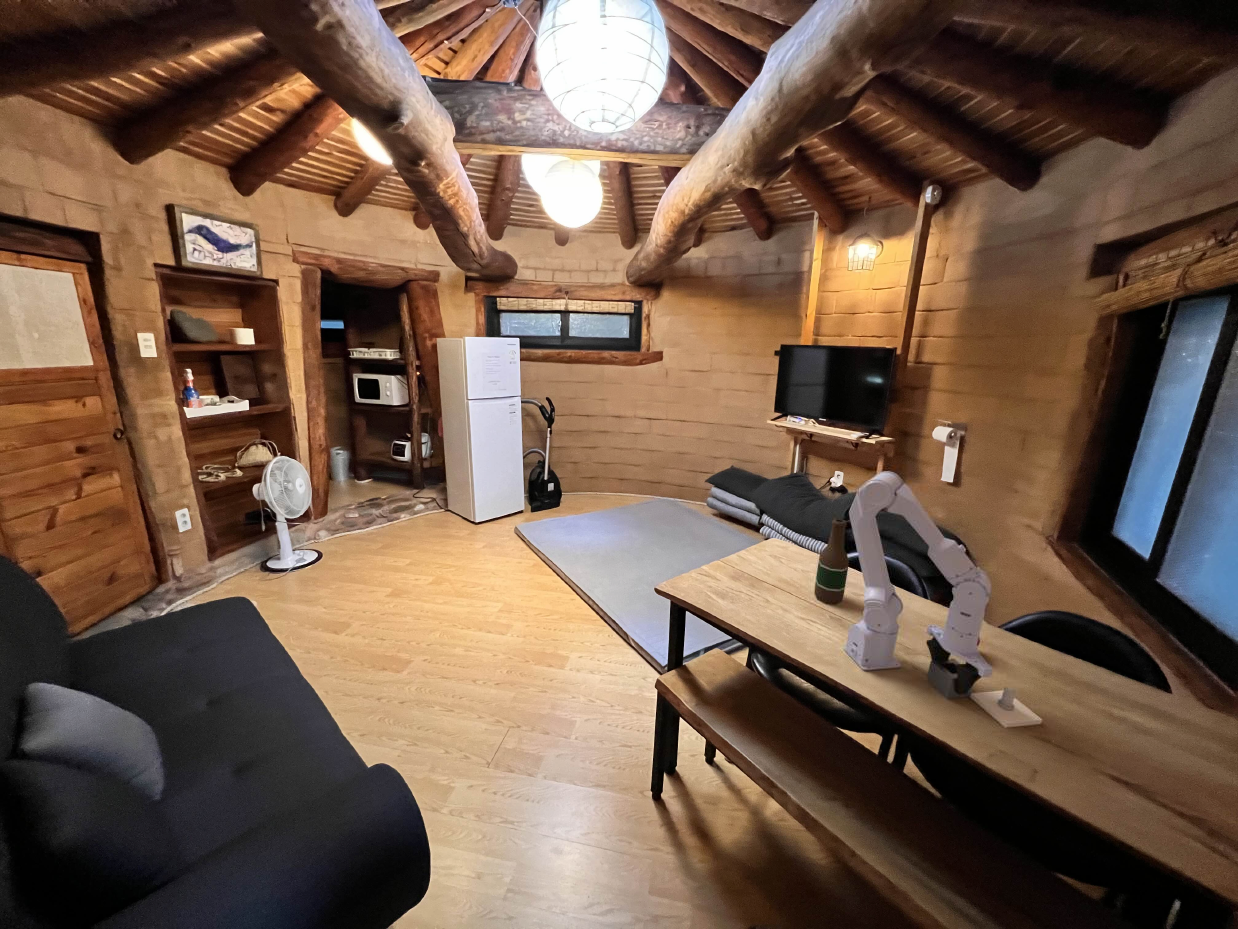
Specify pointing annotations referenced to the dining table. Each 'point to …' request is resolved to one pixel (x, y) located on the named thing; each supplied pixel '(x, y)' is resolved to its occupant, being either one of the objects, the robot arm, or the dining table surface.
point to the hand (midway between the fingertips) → (949, 682)
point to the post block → (1006, 708)
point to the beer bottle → (832, 567)
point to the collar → (945, 678)
